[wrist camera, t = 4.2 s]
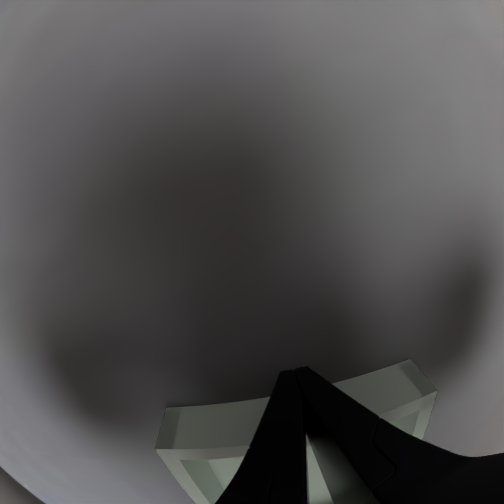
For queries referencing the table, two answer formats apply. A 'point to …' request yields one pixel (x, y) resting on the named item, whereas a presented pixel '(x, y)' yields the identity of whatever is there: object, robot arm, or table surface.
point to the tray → (247, 420)
